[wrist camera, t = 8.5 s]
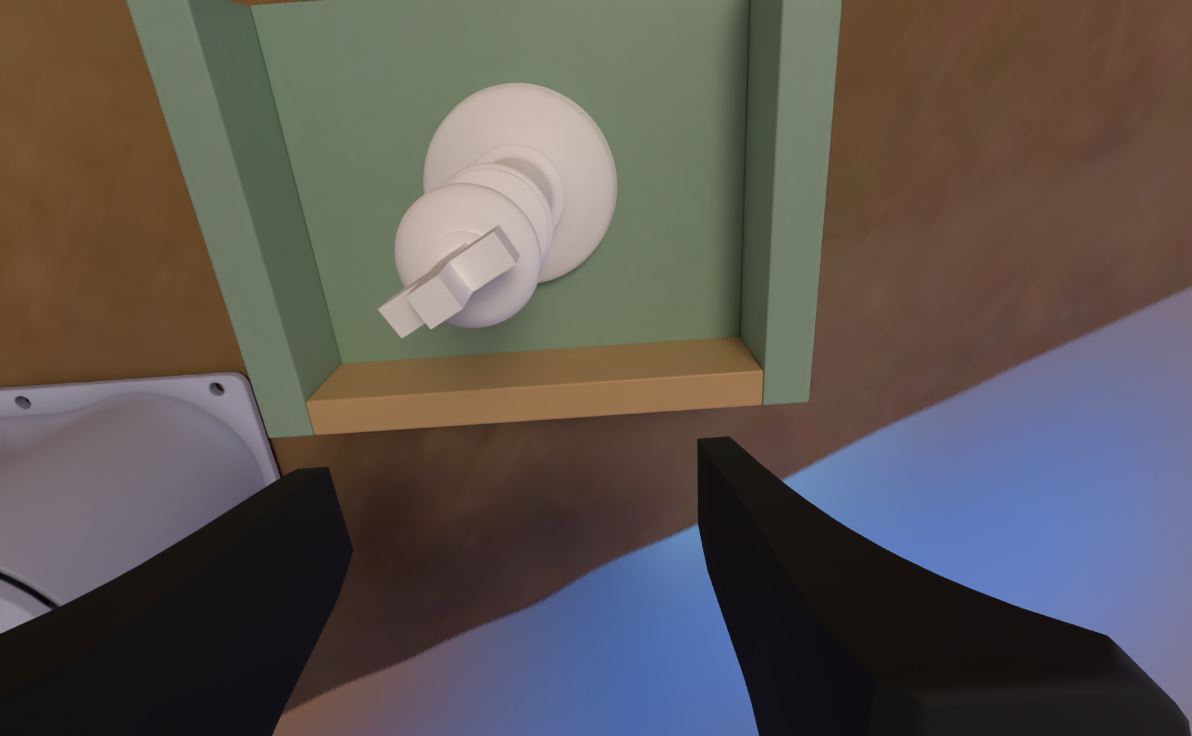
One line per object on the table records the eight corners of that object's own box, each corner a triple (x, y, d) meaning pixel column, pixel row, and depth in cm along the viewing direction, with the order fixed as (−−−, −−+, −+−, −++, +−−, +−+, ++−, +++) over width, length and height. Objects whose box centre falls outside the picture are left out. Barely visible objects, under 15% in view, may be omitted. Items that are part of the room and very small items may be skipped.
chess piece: (652, 217, 16) (744, 366, 7) (501, 313, 17) (403, 557, 8) (547, 38, 14) (480, -86, 5) (385, 157, 15) (85, 232, 6)
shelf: (355, 347, 22) (267, 439, 16) (278, 29, 18) (120, -11, 12) (746, 320, 21) (809, 402, 15) (757, -7, 17) (848, -66, 11)
